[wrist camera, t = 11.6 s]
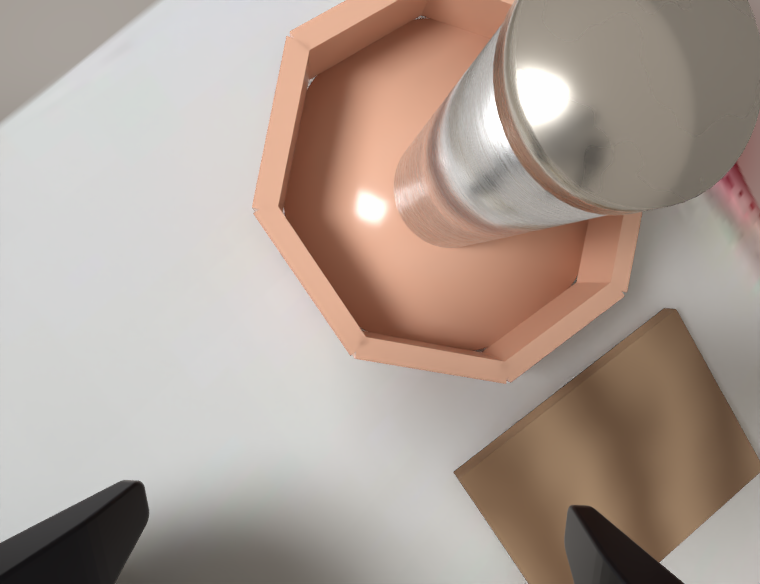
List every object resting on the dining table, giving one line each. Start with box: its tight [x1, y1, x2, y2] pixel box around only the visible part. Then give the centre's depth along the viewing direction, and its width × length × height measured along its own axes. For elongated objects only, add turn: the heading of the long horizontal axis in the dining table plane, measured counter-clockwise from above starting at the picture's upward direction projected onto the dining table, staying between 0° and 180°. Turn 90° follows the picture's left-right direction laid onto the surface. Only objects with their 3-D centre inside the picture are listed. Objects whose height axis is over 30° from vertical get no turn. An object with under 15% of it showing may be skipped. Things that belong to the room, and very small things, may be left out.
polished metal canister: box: [394, 0, 760, 248], centre depth 15 cm, size 6×6×12 cm
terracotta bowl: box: [252, 0, 642, 384], centre depth 20 cm, size 18×18×4 cm
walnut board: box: [454, 308, 760, 584], centre depth 23 cm, size 16×12×1 cm
